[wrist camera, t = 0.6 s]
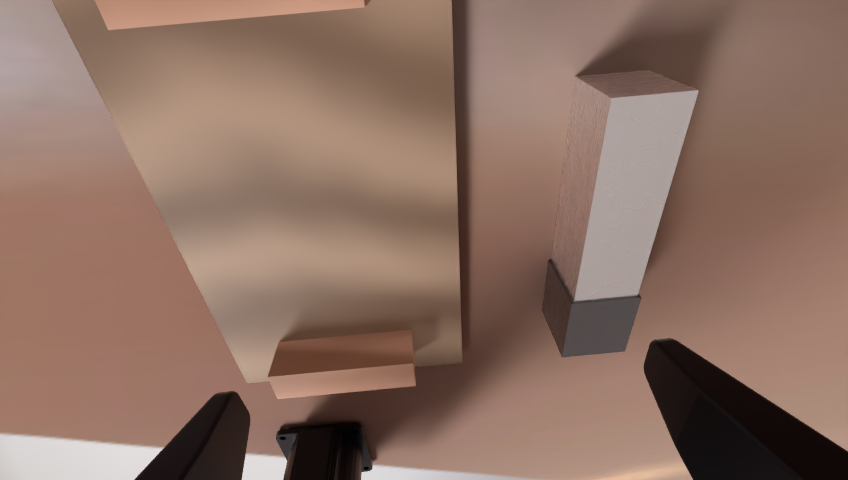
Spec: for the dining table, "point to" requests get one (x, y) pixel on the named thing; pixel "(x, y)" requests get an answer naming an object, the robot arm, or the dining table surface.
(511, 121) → the dining table surface
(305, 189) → the lock cradle
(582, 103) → the two-tone gray brick
